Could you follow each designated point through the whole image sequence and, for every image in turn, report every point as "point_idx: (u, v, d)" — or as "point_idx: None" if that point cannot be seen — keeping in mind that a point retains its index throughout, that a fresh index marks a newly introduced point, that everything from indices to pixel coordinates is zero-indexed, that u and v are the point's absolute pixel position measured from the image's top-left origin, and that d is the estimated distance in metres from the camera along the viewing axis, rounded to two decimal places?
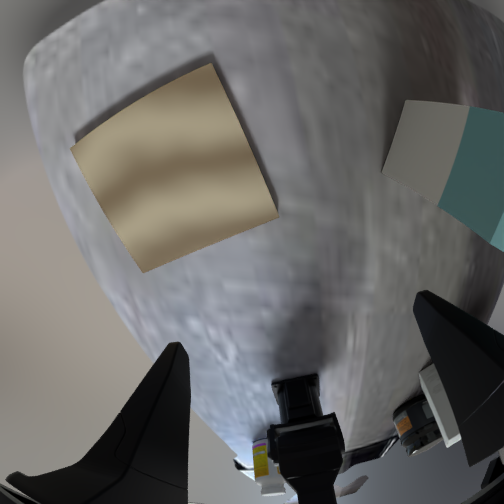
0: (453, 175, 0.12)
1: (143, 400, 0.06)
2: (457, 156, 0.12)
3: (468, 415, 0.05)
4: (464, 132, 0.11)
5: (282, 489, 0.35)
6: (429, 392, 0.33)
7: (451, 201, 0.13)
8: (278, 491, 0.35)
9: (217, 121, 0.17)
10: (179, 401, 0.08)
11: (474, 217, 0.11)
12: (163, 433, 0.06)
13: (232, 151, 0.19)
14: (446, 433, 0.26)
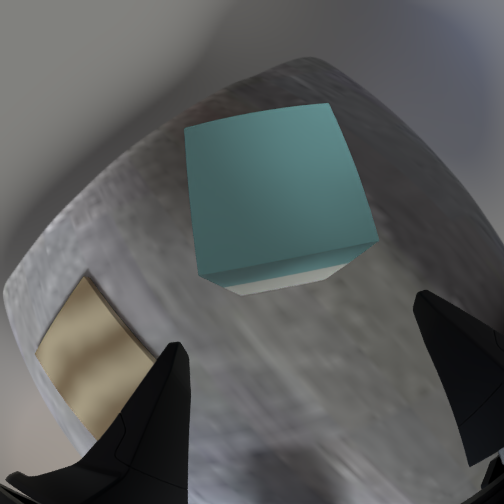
0: None
1: (143, 400, 0.06)
2: None
3: (467, 415, 0.05)
4: None
5: None
6: None
7: None
8: None
9: (98, 316, 0.23)
10: (179, 401, 0.08)
11: None
12: (163, 433, 0.06)
13: (113, 335, 0.22)
14: None
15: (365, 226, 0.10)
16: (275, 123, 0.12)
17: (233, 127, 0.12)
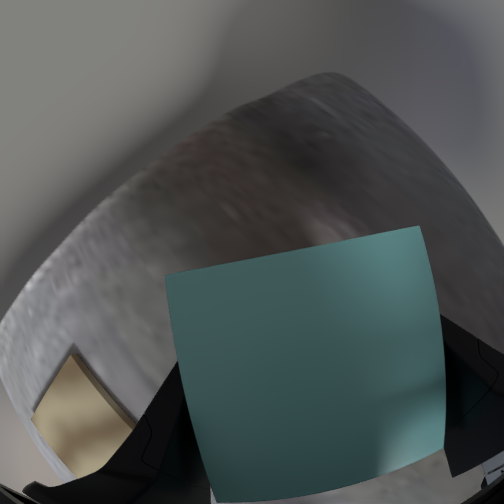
0: None
1: (168, 400, 0.06)
2: None
3: (449, 425, 0.05)
4: None
5: None
6: None
7: None
8: None
9: (92, 400, 0.18)
10: None
11: None
12: (189, 433, 0.06)
13: (111, 422, 0.17)
14: None
15: (433, 437, 0.05)
16: (334, 279, 0.07)
17: (257, 287, 0.07)
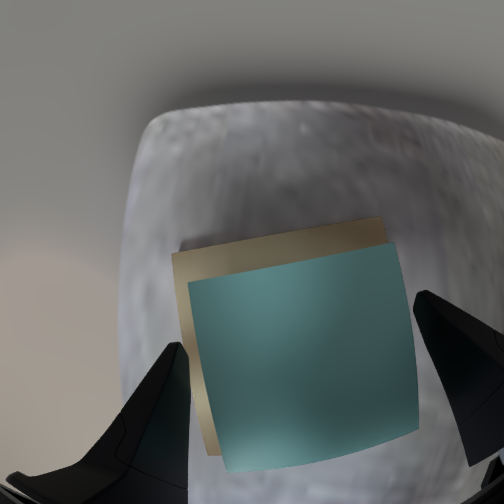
0: None
1: (143, 400, 0.06)
2: None
3: (467, 415, 0.05)
4: None
5: None
6: None
7: None
8: None
9: None
10: (179, 401, 0.08)
11: None
12: (163, 433, 0.06)
13: None
14: None
15: (408, 418, 0.07)
16: (322, 286, 0.08)
17: (261, 291, 0.09)
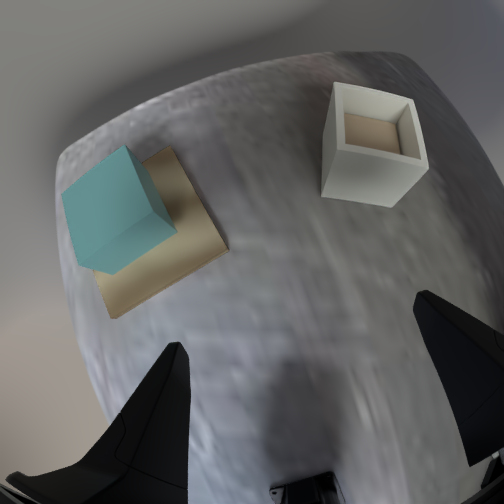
0: None
1: (143, 400, 0.06)
2: None
3: (468, 415, 0.05)
4: None
5: None
6: None
7: None
8: None
9: (173, 180, 0.25)
10: (179, 401, 0.08)
11: None
12: (163, 433, 0.06)
13: (184, 199, 0.24)
14: None
15: (144, 207, 0.17)
16: (99, 172, 0.19)
17: (81, 184, 0.19)
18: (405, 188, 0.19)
